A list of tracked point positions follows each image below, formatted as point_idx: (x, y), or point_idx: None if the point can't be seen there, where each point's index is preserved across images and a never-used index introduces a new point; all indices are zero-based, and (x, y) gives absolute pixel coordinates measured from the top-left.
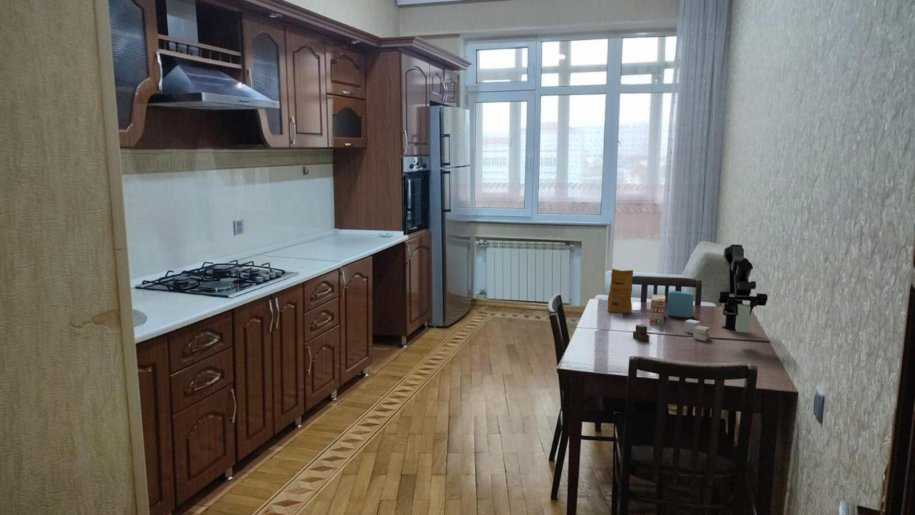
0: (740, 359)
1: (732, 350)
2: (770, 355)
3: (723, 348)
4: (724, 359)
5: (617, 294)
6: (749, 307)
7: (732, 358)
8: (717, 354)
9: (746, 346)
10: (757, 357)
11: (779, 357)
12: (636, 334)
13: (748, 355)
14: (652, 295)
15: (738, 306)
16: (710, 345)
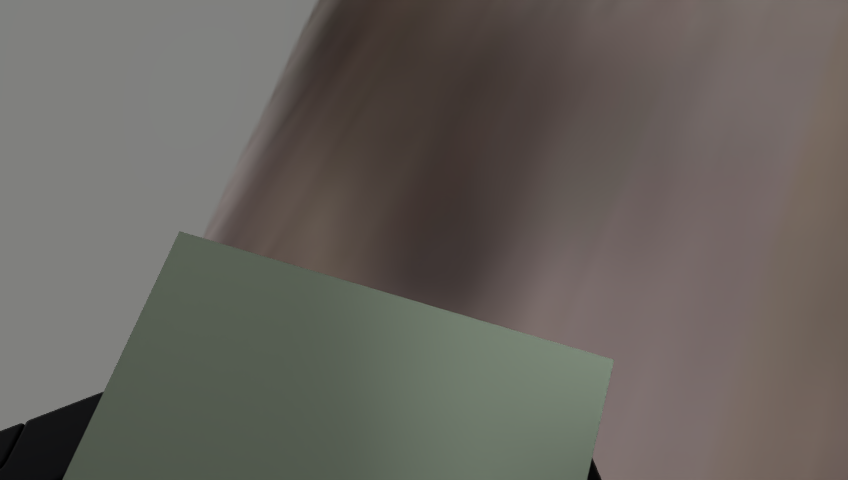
0: (646, 20)
1: (620, 275)
2: (322, 136)
3: (698, 347)
4: (796, 10)
5: None
6: (219, 250)
7: (711, 40)
8: (827, 141)
9: None
10: (468, 79)
11: (279, 90)
12: None
13: (524, 127)
14: None
15: (587, 455)
16: (830, 475)
